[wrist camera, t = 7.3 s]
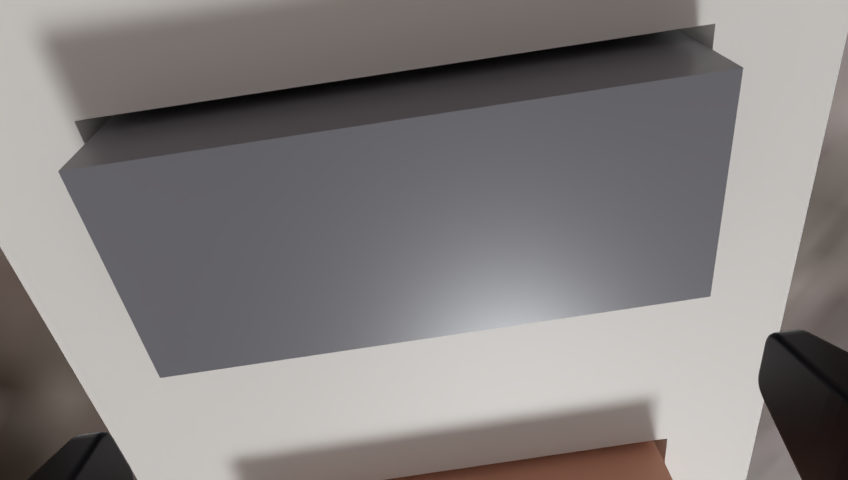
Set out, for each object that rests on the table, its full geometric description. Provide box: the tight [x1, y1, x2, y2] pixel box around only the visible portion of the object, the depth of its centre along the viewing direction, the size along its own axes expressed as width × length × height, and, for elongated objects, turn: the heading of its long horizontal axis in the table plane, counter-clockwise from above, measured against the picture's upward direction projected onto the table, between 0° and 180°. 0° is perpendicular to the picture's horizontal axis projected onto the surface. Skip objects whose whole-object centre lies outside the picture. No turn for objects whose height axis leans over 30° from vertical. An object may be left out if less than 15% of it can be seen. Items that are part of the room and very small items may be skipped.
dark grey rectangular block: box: [58, 29, 743, 378], centre depth 14 cm, size 12×5×4 cm, turn 97°
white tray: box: [0, 0, 848, 480], centre depth 19 cm, size 18×24×5 cm
